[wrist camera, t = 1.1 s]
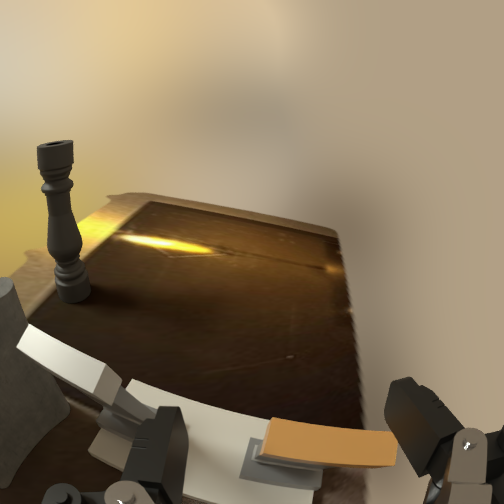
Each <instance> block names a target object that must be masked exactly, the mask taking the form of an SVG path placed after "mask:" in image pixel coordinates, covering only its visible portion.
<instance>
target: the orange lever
mask: <svg viewBox="0 0 504 504" xmlns="http://www.w3.org/2000/svg"><path fill="white" fill-rule="evenodd" d="M397 444H398V441H397V439H396V438H395V436H394V434H393V433H392V432H385V431H368V430H356V429H345V428H336V427H328V426H321V425H314V424H307V423H301V422H295V421H289V420H284V419H279V418H274V417H272V419H271V420H270V422H269V423H268V425H267V429H266V433H265V436H264V439H263V440H262V442H261V443H260V444H259V445H255V447H254V450H253V454H252V458H251V460H253V461H258V462H263V463H268V464H273V465H279V466H285V467H291V468H298V469H306V470H314V471H320V470H321V469H325V468H338V467H350V468H381V467H387V466H394V465H395V460H396V453H397Z"/></svg>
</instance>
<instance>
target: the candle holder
mask: <svg viewBox="0 0 504 504" xmlns="http://www.w3.org/2000/svg"><path fill="white" fill-rule="evenodd" d="M37 161H38V169H39V170H40V174H41V176H42V177H43V180H45V183H44V184H43V186H42V187H41V190H42V192H43V193H45V196H46V198H47V206H48V212H49V217H48V238H47V248H48V251H49V253H50V255H51V256H52V257H53V258H54V259H55V262H56V263H57V264H56V267H55V269H54V273H55V283H56V287H57V291H58V294H59V298H60V299H61V300H62V301H64V302H66V303H76V302H80V301H82V300H84V299H86V298H87V297H88V296H89V295H90V292H91V287H90V282H89V277H88V273H87V270H86V269H85V264H84V262H82V261H81V260H80V259H79V257H80V255H79V253H80V251H81V248H82V238H81V235H80V232H79V229H78V227H77V224H76V221H75V218H74V216H73V213H72V210H71V203H70V202H71V201H70V191H71V188H72V187H73V181H72V180H71V179H69V178H68V177H69V175H70V171H71V170H72V164H73V163H74V159H73V141H72V140H63V141H55V142H50V143H45V144H42V145H39V146H37Z"/></svg>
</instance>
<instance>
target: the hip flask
mask: <svg viewBox="0 0 504 504" xmlns="http://www.w3.org/2000/svg"><path fill="white" fill-rule="evenodd" d="M28 325H29V324H28V322H27V319H26V317H25V314H24V312H23V309H22V306H21V304H20V301H19V298H18V295H17V292H16V289H15V286H14V283H13V281H12V280H11V279H10V278H7V277H1V278H0V488H2V489H4V488H7V487H8V486H9V485H10V483H11V481H12V479H13V477H14V475H15V473H16V472H17V470H18V468H19V467H20V465H21V464H22V462H23V461H24V459H25V458H26V457H27V455H28V454H29V453H30V452H31V450H32V449H33V448H34V447H35V446H36V445H37V443H38V442H39V441H40V440H41V439H42V438H43V437H44V436H45V435H46V434H47V433H48V432H49V431H50V430H51V429H52V428H54V427H55V426H56V425H57V424H58V423H60V422H61V421H62V420H64V419H65V418H66V417H67V416H68V415H69V413H70V406H69V404H68V402H67V400H66V399H65V397H64V395H63V394H62V392H61V390H60V388H59V386H58V385H57V383H56V381H55V379H54V377H53V375H52V374H51V373H50V372H48V371H47V370H45V369H44V368H42V367H41V366H39V365H37V364H36V363H35V362H34V361H32V360H31V359H30V358H29V357H27V356H26V355H25V354H24V353H23V352H21V351H20V350H19V349H18V348H17V345H18V343H19V341H20V340H21V338H22V336H23V334H24V332H25V330H26V329H27V327H28Z"/></svg>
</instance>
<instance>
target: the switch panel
mask: <svg viewBox="0 0 504 504" xmlns="http://www.w3.org/2000/svg"><path fill="white" fill-rule="evenodd" d="M125 390H126V391H128V392H129V393H130V394H131V395H132V396H134V397H135V398H136V399H137V400H138V401H140V402H141V403H142V404H143V405H145V406H146V407H147V408H149V409H150V410H151V411H152V412H154V413H155V414H156V413H157V409H158V407H159V406H179V407H180V409H181V412H182V415H183V419H184V422H185V426H186V429H187V432H188V438H189V449H188V456H187V464H186V471H185V479H184V486H183V494H182V496H185V497H188V498H191V499H194V500H197V501H201V502H204V503H207V504H312V499H313V493H314V491H317V490H318V489H320V488H321V483H322V475H323V469H321V470H320V471H314V470H306V469H298V468H291V467H285V466H279V465H273V464H268V463H263V462H258V461H253V460H251V458H252V454H253V450H254V447H255V445H259V444H260V443H261V442H262V440H263V439H264V436H265V433H266V429H267V425H268V423H269V422H270V420H265V419H261V418H256V417H252V416H247V415H243V414H239V413H235V412H231V411H227V410H224V409H220V408H216V407H213V406H209V405H206V404H202V403H199V402H196V401H193V400H190V399H186V398H183V397H180V396H177V395H174V394H171V393H169V392H166V391H163V390H160V389H157V388H155V387H152V386H149V385H147V384H144V383H142V382H139V381H136V380H134V379H132V380H131V382H130V383H129V385H128V386H127V388H126V389H125ZM96 422H97V424H98V426H99V427H101V429H100V431H99V432H98V434H97V436H96V437H95V439H94V441H93V442H92V444H91V446H90V447H89V449H88V450H87V451H88V452H89V453H90V454H91V455H92V456H93V457H95V458H97V459H99V460H100V461H102V462H104V463H106V464H108V465H110V466H112V467H114V468H116V469H118V470H120V471H122V472H123V470H124V467H125V464H126V461H127V458H128V455H129V452H130V449H131V448H132V443H133V440H135V438H134V437H135V434H136V432H137V429H138V427H139V426H140V425H139V424H136V423H134V422H132V421H130V420H127V419H125V418H123V417H121V416H118V415H116V414H114V413H112V412H110V411H108V410H106V409H103V410H102V412H101V413H100V415H99V416H98V418H97V420H96Z"/></svg>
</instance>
